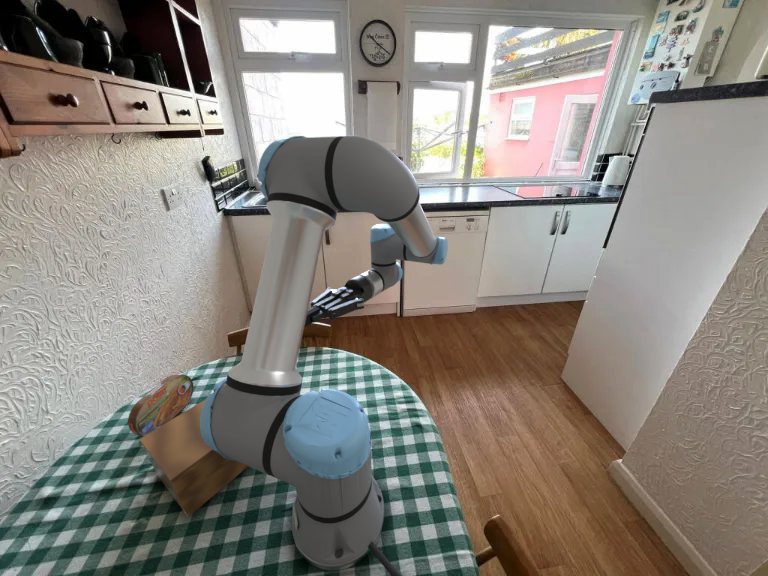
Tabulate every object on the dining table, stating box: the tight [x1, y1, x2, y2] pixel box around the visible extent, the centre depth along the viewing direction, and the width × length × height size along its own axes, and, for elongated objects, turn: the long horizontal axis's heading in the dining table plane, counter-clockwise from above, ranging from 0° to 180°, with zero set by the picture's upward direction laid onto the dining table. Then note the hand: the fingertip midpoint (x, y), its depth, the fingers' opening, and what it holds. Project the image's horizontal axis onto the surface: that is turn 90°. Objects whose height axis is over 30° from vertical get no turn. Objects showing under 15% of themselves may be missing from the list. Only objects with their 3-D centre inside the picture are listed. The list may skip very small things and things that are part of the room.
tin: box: [127, 374, 194, 437], centre depth 71 cm, size 15×3×8 cm, turn 168°
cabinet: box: [139, 398, 249, 518], centre depth 60 cm, size 15×13×10 cm
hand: (296, 324), depth 71 cm, fingers closed
